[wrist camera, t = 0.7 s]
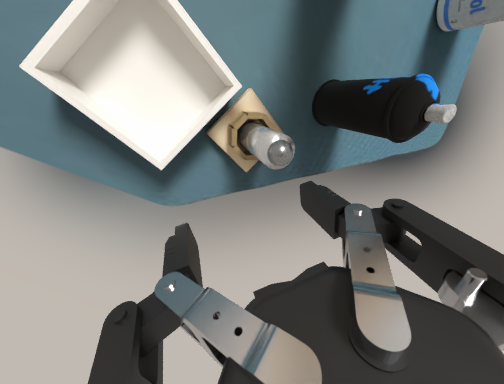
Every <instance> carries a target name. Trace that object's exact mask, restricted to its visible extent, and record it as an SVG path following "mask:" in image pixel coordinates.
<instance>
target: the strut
mask: <svg viewBox="0 0 504 384" xmlns="http://www.w3.org/2000/svg"><path fill="white" fill-rule="evenodd" d="M237 141H238V143H239V144H240V145H241V146H242V147H244V148H245V149H246V150H248V151H249V152H251V153H252V154H253V155H254V156H255V157H257V158H258V159H259V160H260V161H261V162H263V163H264V164H265V165H266V166H267V167H269V168H271V169H275V170H277V169H282V168H284V167H286V166H287V165H288V164H289V163H290V162H291V160H292V159H293V157H294V153H295V145H294V142H293V140H292V139H291V138H290V137H289V136H287V135H285V134H282V133H280V132H277V131H275V130H272V129H270V128H267V127H265V126H262V125H261V124H259V123H257V122H254V121H251V120H247V121H245V122H244V123H243V124H242V125H241V126H240V127H239V128H238V129H237Z"/></svg>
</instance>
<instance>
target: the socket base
mask: <svg viewBox="0 0 504 384" xmlns="http://www.w3.org/2000/svg"><path fill="white" fill-rule="evenodd" d="M247 120H251V121H254V122H257V123H259V124H261V125H262V126H265V127H267V128H270V129H272V130H275V131H277V132H280V133H282V134H284V133H283V132H282V130H281V129H280V127H279V126H278V125H277V123H276V122H275V121H274V119H273V118H272V116H271V115H270V114H269V112H268V111H267V110H266V108H265V107H264V105H263V104H262V103H261V101H260V100H259V99H258V97H257V96H256V94H255V93H254V92H253V90H252V89H251V88H249V89H247V90H246V91H245V92H244V93H243V94H242V95H241V97H240V98H239V99H238V100H237V101H236V102H235V103H234V104H233V105H232V106H231V107H230V108H229V109H228V110H227V111H226V112H225V113H224V114H223V115H222V116H221V117H220V118H219V119H218V120H217V121H216V122H215V123H214V125H213V126H212V127H211V128H210V129H209V130H208V131H207V132H206V133H207V134H208V135H209V136H210V137H211V138H212V139H213V140H214V141H215V142H216V143H217V144H218V145H219V146H220V147H221V148H222V149H223V150H224V151H225V152H226V153H227V154H228V155H229V156H230V157H231V158H232V159H233V160H234V161H235V162H236V163H237V164H238V165H239V166H240V167H241V168H242V169H243V170H244V171H245V172H247V171H248V170H249V169H250V168H251V167H252V166H253V165H254V164H255V163H256V162H257V161H258V160H259V159H258V158H257V157H255V156H254V155H253V154H252V153H251V152H249V151H248V150H246V149H245V148H244V147H242V146H241V145H240V144H239V143H238V141H237V129H238V128H239V127H240V126H241V125H242V124H243V123H244V122H245V121H247Z"/></svg>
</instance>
